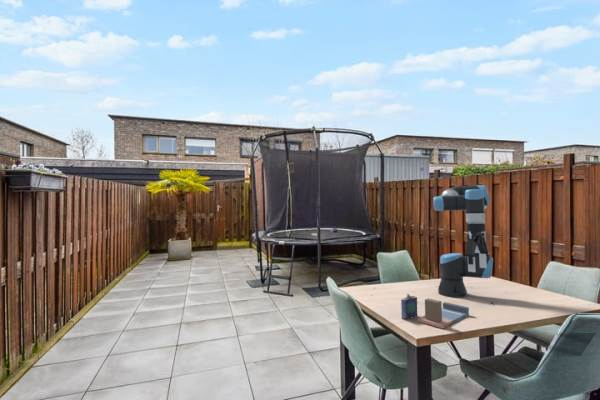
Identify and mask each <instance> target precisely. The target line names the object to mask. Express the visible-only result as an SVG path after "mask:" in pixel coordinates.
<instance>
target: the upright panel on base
mask: <svg viewBox="0 0 600 400" xmlns="http://www.w3.org/2000/svg"><path fill="white" fill-rule="evenodd" d="M442 308H443V304H442V300H438V299H432V298H429V297H428V298H426V299H424V315H423V316H420V317H418V318H417V322H418V323H421V324H422V323H423V324H425V325H428V324H429V326H432V327H435V326H436V328H440V329H444V328H446V327H448V326H450V325H452V324H453V323H452V320H449V319H445V318H442Z"/></svg>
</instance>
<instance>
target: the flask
mask: <svg viewBox="0 0 600 400" xmlns="http://www.w3.org/2000/svg"><path fill="white" fill-rule="evenodd" d="M400 302H401V303H400V305H401V308H400V309H401V319H402V320H408V318H409V319H412V318H416V317H415V316H417V317H418V297H417V296H415V295H411V294H410V293H406V297H404V298H401V299H400ZM411 317H412V318H411Z"/></svg>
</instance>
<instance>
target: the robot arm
mask: <svg viewBox="0 0 600 400" xmlns="http://www.w3.org/2000/svg"><path fill="white" fill-rule="evenodd" d="M489 195H490V194H489V190H488V188H487V186H486V185H484V184H476V185H475V184H474V185H462V186H461V185H459V186H458V185H457V186H453V187H449V188H447V189H445V190H444V191H443V192H441V195H438V196H434V197H433V201H432V202H433V204H432V205H433V210H434V211H437V212H438V211H439V212H443V211H444V212H445V211H465V222H466V227H465V228H466V232H468V234H467V236H466V238H467V241H466V246H465V253H464V255H465V256H464V255H463V254H462V253H460V252H459V253H455V252H454V253H446V254H442V255H441V256H440V257H439V258H440V260H439V261H440V262H439V265H440V281H439V284H438V288H437V290H438V292H437V293H438V294H439V295H441V296H445V297H452V298H463V297H464V298H465V297H467V296H468V291H467V287H466V286H465V282H464V278H477V279H491V277H492V273H493V263H494V258H493V257H491V255H490V253H489V250H488V246H487V240H486V239H487V236H486V217H487V216H486V215H485V210H486V209H487V208H488V205H490V203H491V202H490V196H489Z"/></svg>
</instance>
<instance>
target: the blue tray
mask: <svg viewBox="0 0 600 400" xmlns="http://www.w3.org/2000/svg"><path fill="white" fill-rule="evenodd" d="M469 310H470V308H469V307H468V306H465V305H459V304H455V303H452V302H451V303H450V302H446V301H444V302H443V303H442V318H445V319H449V320H452V324H455V323H457V322H458V321H460V320H462V319H465V318H466V317H468V316H470V311H469Z"/></svg>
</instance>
